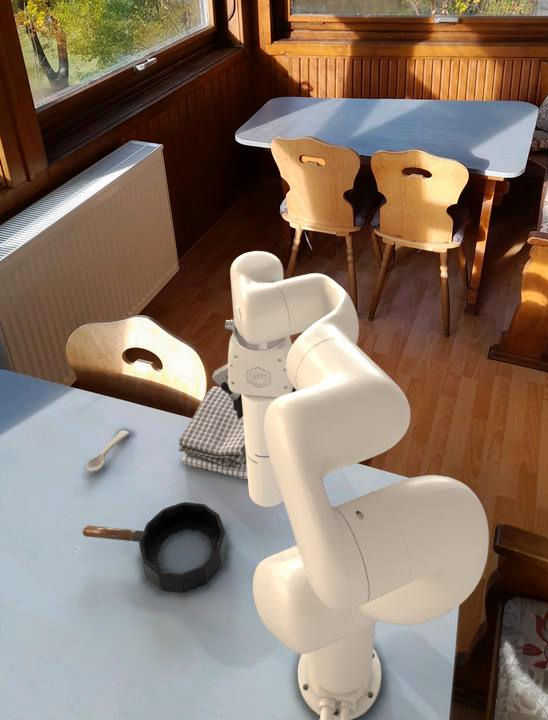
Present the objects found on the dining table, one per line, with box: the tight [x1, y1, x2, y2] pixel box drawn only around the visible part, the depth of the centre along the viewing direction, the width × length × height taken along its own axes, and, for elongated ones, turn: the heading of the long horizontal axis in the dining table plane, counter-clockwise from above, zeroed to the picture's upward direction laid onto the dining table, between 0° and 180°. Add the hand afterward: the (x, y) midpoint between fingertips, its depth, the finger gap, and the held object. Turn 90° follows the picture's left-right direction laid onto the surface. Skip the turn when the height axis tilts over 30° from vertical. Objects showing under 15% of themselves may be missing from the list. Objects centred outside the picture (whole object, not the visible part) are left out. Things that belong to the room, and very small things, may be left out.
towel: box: [178, 385, 248, 480], centre depth 137 cm, size 15×18×8 cm
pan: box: [82, 501, 228, 594], centre depth 117 cm, size 14×25×4 cm, turn 84°
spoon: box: [85, 429, 130, 474], centre depth 136 cm, size 3×12×2 cm, turn 159°
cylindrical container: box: [241, 394, 284, 508], centre depth 112 cm, size 7×7×25 cm
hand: (264, 413), depth 109 cm, fingers closed on cylindrical container, 7 cm apart
